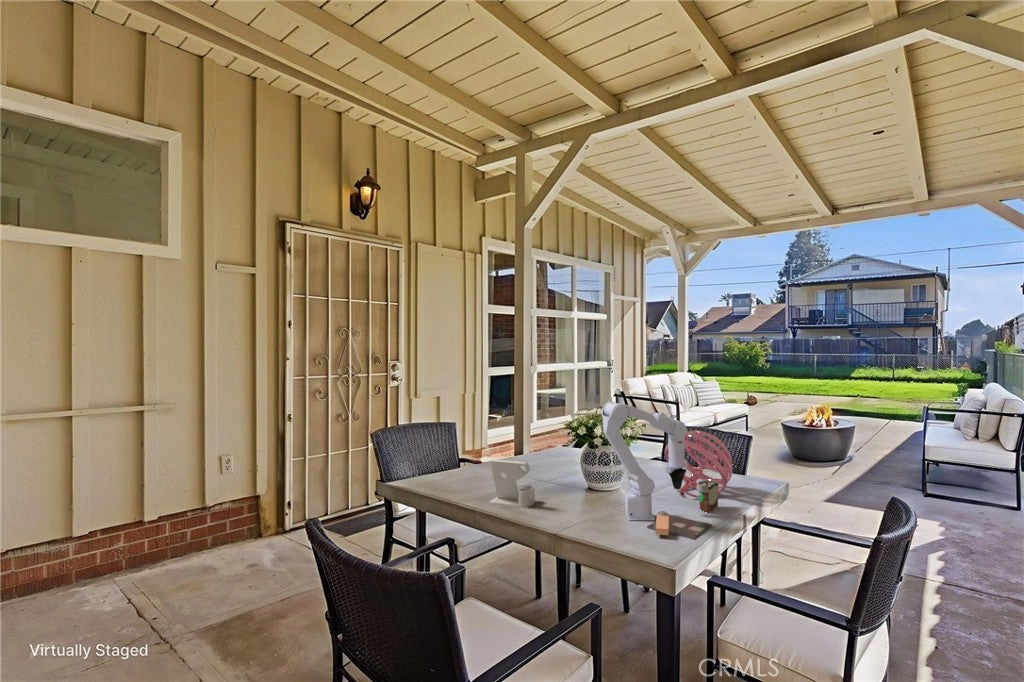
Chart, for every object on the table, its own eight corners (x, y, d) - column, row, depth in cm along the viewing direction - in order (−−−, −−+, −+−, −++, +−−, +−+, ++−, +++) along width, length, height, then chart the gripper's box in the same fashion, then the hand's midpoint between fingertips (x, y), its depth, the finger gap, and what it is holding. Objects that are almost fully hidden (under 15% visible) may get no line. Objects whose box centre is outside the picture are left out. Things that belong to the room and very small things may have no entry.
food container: (703, 503, 203) (702, 478, 204) (719, 506, 200) (718, 480, 200) (691, 511, 194) (691, 485, 194) (708, 514, 190) (707, 487, 190)
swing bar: (657, 518, 184) (657, 509, 184) (668, 519, 183) (668, 510, 183) (655, 534, 168) (655, 525, 168) (668, 536, 167) (668, 526, 167)
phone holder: (537, 501, 210) (536, 457, 211) (528, 508, 201) (527, 462, 201) (499, 497, 218) (498, 454, 218) (488, 503, 208) (487, 459, 209)
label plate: (693, 539, 166) (693, 537, 166) (646, 527, 177) (646, 525, 177) (712, 526, 178) (712, 523, 178) (667, 516, 189) (667, 513, 189)
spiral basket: (679, 458, 197) (716, 413, 209) (637, 461, 222) (673, 421, 234) (723, 514, 198) (758, 467, 209) (677, 511, 223) (710, 469, 235)
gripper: (678, 457, 184) (679, 494, 184) (694, 450, 194) (695, 486, 194) (659, 454, 189) (660, 491, 188) (677, 448, 199) (677, 483, 199)
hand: (677, 488), depth 192 cm, fingers closed
